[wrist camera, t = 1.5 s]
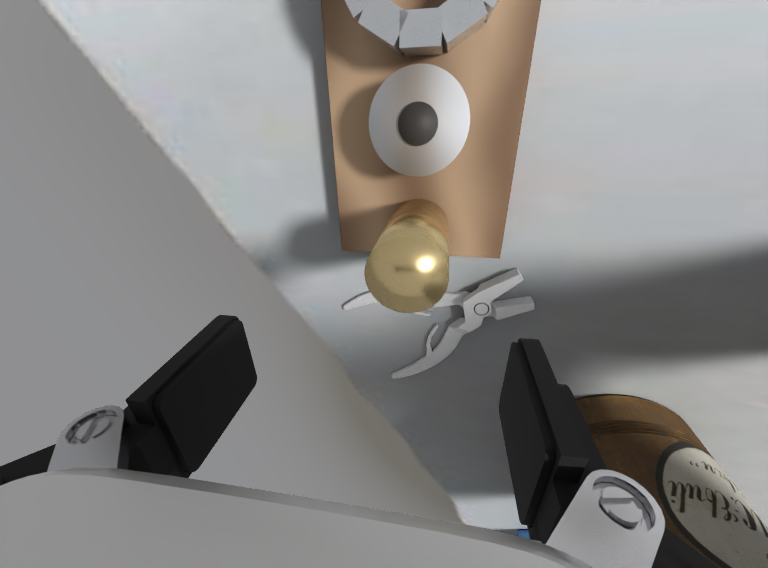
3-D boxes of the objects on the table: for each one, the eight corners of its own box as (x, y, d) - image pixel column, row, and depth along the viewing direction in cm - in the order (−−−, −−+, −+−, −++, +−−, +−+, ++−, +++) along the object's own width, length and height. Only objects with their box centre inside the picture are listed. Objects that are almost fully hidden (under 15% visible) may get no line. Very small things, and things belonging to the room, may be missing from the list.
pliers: (338, 309, 29) (505, 237, 23) (343, 300, 30) (501, 230, 25) (393, 387, 32) (550, 339, 27) (395, 375, 34) (545, 328, 28)
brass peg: (451, 199, 22) (452, 239, 16) (447, 258, 25) (445, 316, 18) (388, 197, 23) (362, 235, 16) (389, 255, 25) (366, 309, 18)
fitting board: (566, -199, 15) (609, -314, 11) (497, 250, 25) (506, 277, 21) (316, -157, 17) (275, -241, 13) (347, 243, 27) (329, 266, 23)
